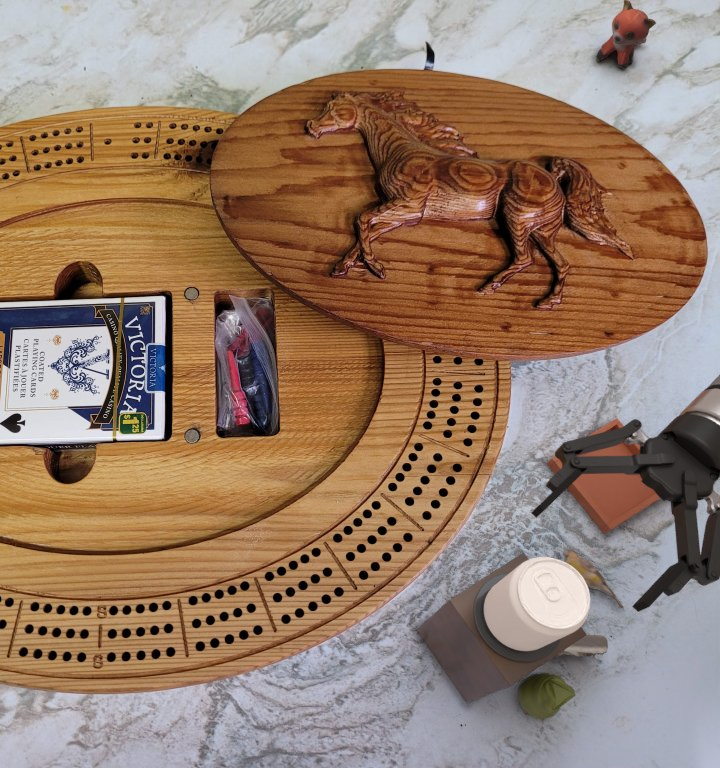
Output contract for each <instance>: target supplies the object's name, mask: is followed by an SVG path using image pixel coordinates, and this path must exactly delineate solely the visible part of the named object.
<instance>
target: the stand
mask: <svg viewBox="0 0 720 768" xmlns="http://www.w3.org/2000/svg"><path fill="white" fill-rule="evenodd" d="M529 559H530V558H529V557H528V555H526V554H525V552H522V553H520V554H519V555H518V556H516V557H515V558H513V559H511V560H510V561H508V562H506V563H505V564H503V565H502V566H500V567H499V568H497V569H495V570H494V571H492V572H490V573H489V574H488V575H485V576H484V577H482V578H481V579H480V580H478V581H476V582H475V583H474V584H472V585H470V586H469V587H467V588H466V589H464V590H463V591H461V592H459V593H457V594H456V595H455V596H453V597H451V598H450V599H448V600H447V601H446V602H445V603H444V604H442V606H441V607H439V608H438V609H437V610H436V611H435V612H434V613H433V614H432V615H431V616H430V617H429V618H428V619H426V620H425V621H424V622H423V623H422V624H420V625H419V627H417V629H416V632H417V633H418V634H419V636H420V637H421V639H422V640H423V642H424V643H425V645H426V647H428V649H429V651H430V652H431V654H432V655H433V656H434V658H435V659H436V661H437V662H438V664H439V665H440V667H441V669H442V670H443V671H444V673H445V675H446V676H447V677H448V679H449V680H450V682H451V683H452V685H453V686H454V687H455V689H456V691H457V692H458V694H459V695H460V697H461V698H462V699H463V701H464V702H465V704H467V703H470V702H473V701H476V700H478V699H481V698H484V697H486V696H489V695H491V694H494V693H497V692H500V691H501V690H504V689H507V688H510V687H512V686H513V685H515V684H516V683H517V682H519V681H521V680H522V679H525V677H527V676H528V675H529V674H531V673H533V672H534V671H535V670H537V669H539V668H540V667H541V666H543V665H545V664H546V663H547V662H548V661H549V662H550V660H552V659H553V658H555V657H557V656H556V655H558V654H559V653H561V652H562V651H564V650H565V649H567V648H568V647H570V646H571V645H573V644H574V643H575V642H577V641H578V640H580V639H581V638H583V637H584V636H586V635H587V634H588V633H586V631H585V630H584V628H583V627H582V626H581V627H580V628H579V629H578V630H576V631H575V632H573V633H571V634H569V635H567V636H565V637H563V638H561V640H560V642H559V644H558V646H557V647H556V648H555V650H554V651H553V652H552V653H550V654H549V655H548V656H546V657H544V658H542V659H540V660H537V661H533V662H516V661H512V660H509V659H506V658H504V657H502V656H500V655H498V654H497V653H495V652H494V651H493V650H492V649H491V648H490V647H488V646H487V644H486V643H485V642H484V641H483V639H482V638H481V636H480V635H479V633H478V630H477V628H476V625H475V622H474V616H473V606H474V601H475V598H476V595H477V593H478V591H479V590H480V588H481V587H482V586H483V585H484V584H485V583H486V582H487V581H488V580H489V579H491V578H493V577H495V576H497V575H500V574H504V573H510V572H512V571H513V570H514V569H515V568H517V567H518V566H519V565H520V564H522V563H523V562H525V561H527V560H529Z"/></svg>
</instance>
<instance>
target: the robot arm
mask: <svg viewBox="0 0 720 768" xmlns="http://www.w3.org/2000/svg"><path fill="white" fill-rule="evenodd" d="M642 427H643V424H642V421H640V420H639V419H637V418H635V419H632V420H630V421H629V422H628V423H625V425H624V427H622V428H619V429H615V430H611V431H607V432H603V433H599V434H595V435H591V436H589V435H587V436H584V437H579V438H576V439H572V440H571V439H570V440H568V441H565V442H563V443H562V444H560V446H559V447H558V448H557V449H556V450H555V451H554V456H556V458H558V459H560V460H561V462H562V468H561V469H560V470H559V471H558V472H557V473H556V474H555V473H554V475H553V476H552V477H551V478H549V480H547V481H546V484H545V487H546V488H547V489H548V490H550V491H551V493H550V494H549V495H548V496H547V497H546V498H544V499H543V501H542V502H541V503H540V504H539V505H537V506H536V507H535V508H534V509H533V511H531V512H530V514H531V515H533V517H535V518H536V519H537V518H539V516H540V515H541V514H543V512H545V511H546V510H547V509H548V507H550V506H551V505H552V504H553V502H555V501H556V500H558V498H559V497H560V496H561V495H562V494H563V493H564V492H565V491H566V490H568V489H567V488H568V487H569V486H570V485H571V484H572V483H573V482H574V481H575V480H576V479H577V478H578V477H579V476H580V475H581V474H612V473H625V474H626V475H640V477H641V479H642V481H641V482H642V483H644V484H645V485H646V486H647V487H649V488H651V489H653V490H654V491H655V492H656V494H657V495H658V496H659V497H660V499H661V500H662V501H664V502H666V501H667V502H670V510H671V511H670V513H671V515H672V516H673V520H674V531H675V533H674V534H675V542H676V543H675V544H676V554H677V555H676V556H677V562H676V563H673V564H672V565H670V566H668V567H667V568H666V570H665V571H664V572H663V573H662V574H661V575H660V576H659V578H658V579H657V580H656V581H654V582H653V584H652V585H651V586H649V588H648V589H647V590H646V591H645V592H644V593H643V594H642V595H641V596H640V597H639V598H638V599H637V601H636V602H635V603H634V604H633V605H632V606H631V607H632V608H633V610H635V611H636V612H637V613H638V612H641V611H643V610H646V609H649V608H650V607H651V606H652V605H653V604H654V603H655V602H656V601H657V600H658V598H659V597H660V596H662V594H664V595H665V596H667V597H671V596H673V595H675V594H677V593H679V592H680V591H682V589H684V587H685V586H686V585H687V584H688V583H689V582H690V581H691V580H694V581H696V582H697V583H698V584H699V585H700V586H704V587H705V586H707V585H710V584H712V583H714V582H717V581H719V580H720V494H718V493H717V492H716V491H714V487H715V484H716V482H717V481H718V480H719V479H720V374H719V375H718V376H717V377H716V378H715V379H714V380H713V381H712V382H711V383H710V384H709V385H708V386H707V387H706V388H704V389H703V391H702V390H701V392H700V393H699V394H698V395H697V396H696V397H695V398H694V399H693V400H692V401H691V402H690V403H689V404H688V405H687V406H686V407H685V408H683V410H682V411H681V412H680V413H679V415H678V416H676V417H675V418H674V419H673V420H672V421H671V422H669V423H668V425H667V426H666V427H665V428H664V429H662V430H661V431H660V432H659V433H658V434H657V435H656V436H655V437H649V436H648V434H647V433H646V432H645V431H643V430H642V429H641V428H642ZM623 442H624V443H625V444H634V443H636V444H639V445H640V454H635V455H632V456H583V457H577V455H581V454H585V453H589V452H593V451H597V450H601V449H605V448H609V447H613V446H616V445H619V444H621V443H623ZM703 500H704V501H705V502H706V505H707V506H706V510H705V511H706V514H707V515H708V517H707V519H706V522H705V527H704V528H705V529H704V533H703V539H702V545H701V544H700V537H699V526H698V517H697V515H698V514H697V510H698V508H699V502H698V501H703ZM700 545H701V546H700Z"/></svg>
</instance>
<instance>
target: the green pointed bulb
mask: <svg viewBox="0 0 720 768" xmlns="http://www.w3.org/2000/svg"><path fill="white" fill-rule="evenodd" d="M575 697H576V691H575V689H574V687H572V686H570V685H569V684H568V683H567V682H566V681H565V679H563V678H562V677H561V676H559V675H556V674H551V673H550V672H549V673H548V672H537V673H534V674H531V675H529V676H526V678H523V680H522V681H521V682H520V684H519V686H518V688H517V700H518V703H519V704H520V706H521V708H522V709H523V711H524V712H525V713H527V714H528V715H529V716H531V717H533V718H535V719H538V720H546V719H550V718H552V717H555V715H556V714H558V712H559V711H560V710H561V708H562V707H563V706H564V705H565V704H567V703H568V702H569V701H572V699H573V698H575Z"/></svg>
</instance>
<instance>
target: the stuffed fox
mask: <svg viewBox="0 0 720 768" xmlns="http://www.w3.org/2000/svg"><path fill="white" fill-rule="evenodd" d="M656 25H657V22H656V21H655V20H654V19H653V18H649V16H648V15H647V14H646V13H645V12H644V11H643V10H642V9H641V10H640V9H637V8H634V7H633V5H632V3H631V1H630V0H623V5H622V10H621V11H620V12H618V14H616V15H615V16H614V17H613V19H612V22H611V31H612V34H611V36H610V37H609V38H608V39H607V41H605V42H604V43H603V44H602V45H601V48H600V49H599V50H598V51H597V53H596V56H595V59H596V63H598V64H600V61H602V60H604V59H606V58H608V57H610V56H609V55H610V54H612V53H613V52H614V51H616V52H617V57H616V59H617V67H618V68H622V69H623V70H625V69H627V67H629V66H630V65H632V64H633V63H634V60H633V59H634V53H635V50H636V47H639V46H641V45H643V44H646V43H647V38H648V35H649V32H650V29H651V28H653V27H654V26H656Z"/></svg>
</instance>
